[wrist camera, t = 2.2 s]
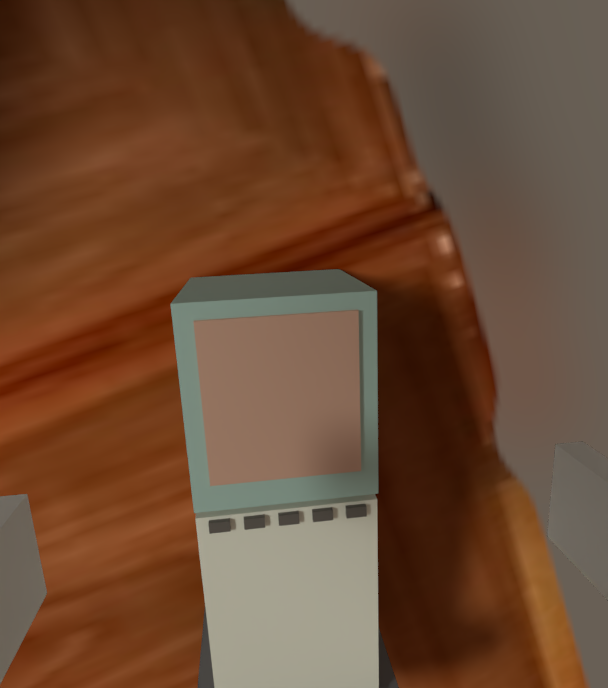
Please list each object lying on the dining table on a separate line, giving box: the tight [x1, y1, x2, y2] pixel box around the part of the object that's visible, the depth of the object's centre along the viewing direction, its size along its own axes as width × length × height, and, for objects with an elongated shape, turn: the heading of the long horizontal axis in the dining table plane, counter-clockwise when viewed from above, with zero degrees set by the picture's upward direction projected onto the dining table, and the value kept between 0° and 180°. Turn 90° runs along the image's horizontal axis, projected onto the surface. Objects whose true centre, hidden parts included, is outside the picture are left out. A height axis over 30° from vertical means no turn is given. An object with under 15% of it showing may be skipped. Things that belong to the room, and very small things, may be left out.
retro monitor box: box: [171, 269, 378, 513], centre depth 25 cm, size 9×8×8 cm
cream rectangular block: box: [196, 494, 399, 688], centre depth 27 cm, size 16×10×10 cm, turn 2°
